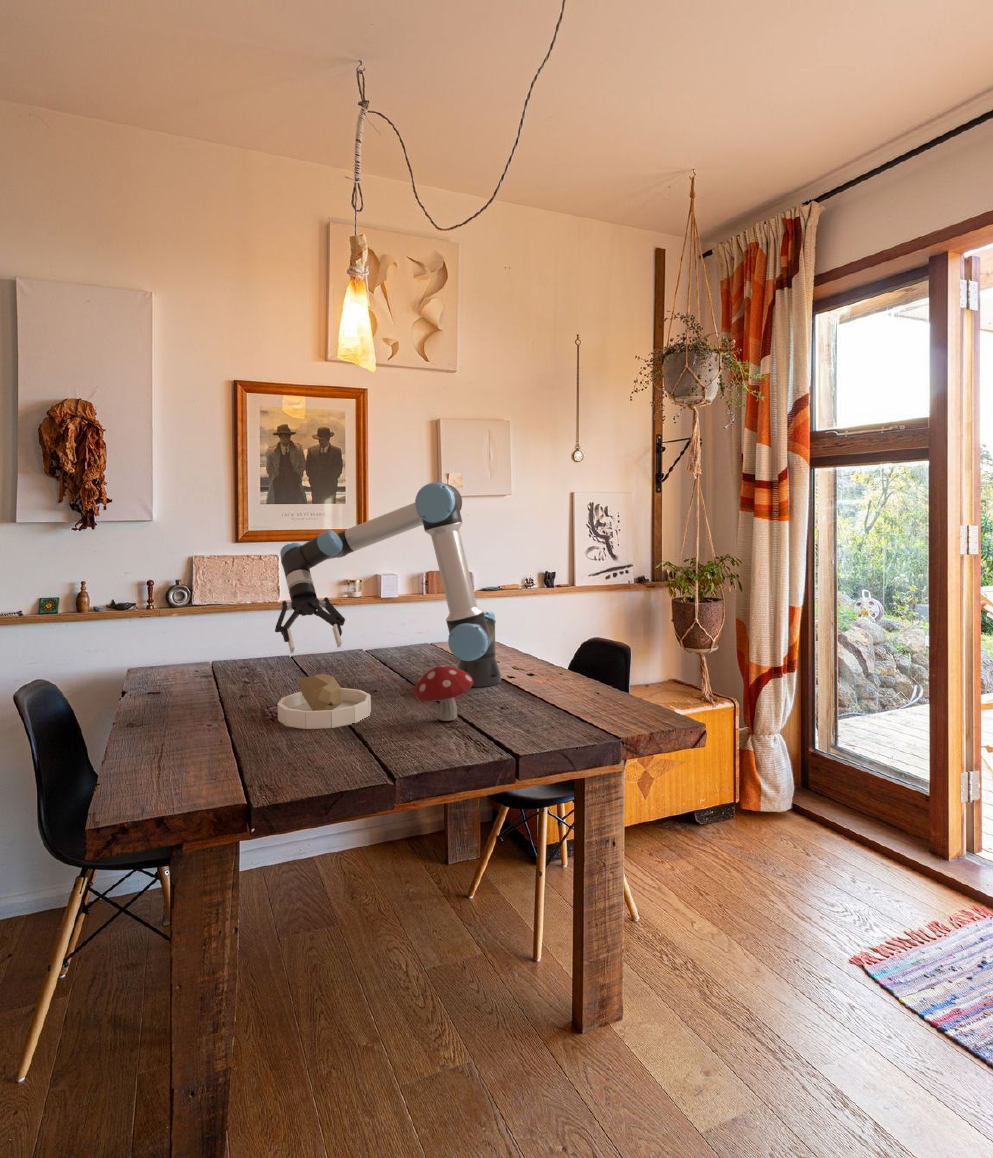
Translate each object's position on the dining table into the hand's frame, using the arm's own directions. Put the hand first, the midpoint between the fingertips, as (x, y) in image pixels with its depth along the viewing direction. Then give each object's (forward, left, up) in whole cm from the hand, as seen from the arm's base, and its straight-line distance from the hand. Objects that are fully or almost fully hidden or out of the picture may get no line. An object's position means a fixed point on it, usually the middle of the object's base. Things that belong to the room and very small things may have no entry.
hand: (316, 647), depth 199 cm
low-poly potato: (-3, +13, -16) cm, 21 cm away
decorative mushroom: (-36, +23, -17) cm, 45 cm away
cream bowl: (-4, +13, -16) cm, 21 cm away
